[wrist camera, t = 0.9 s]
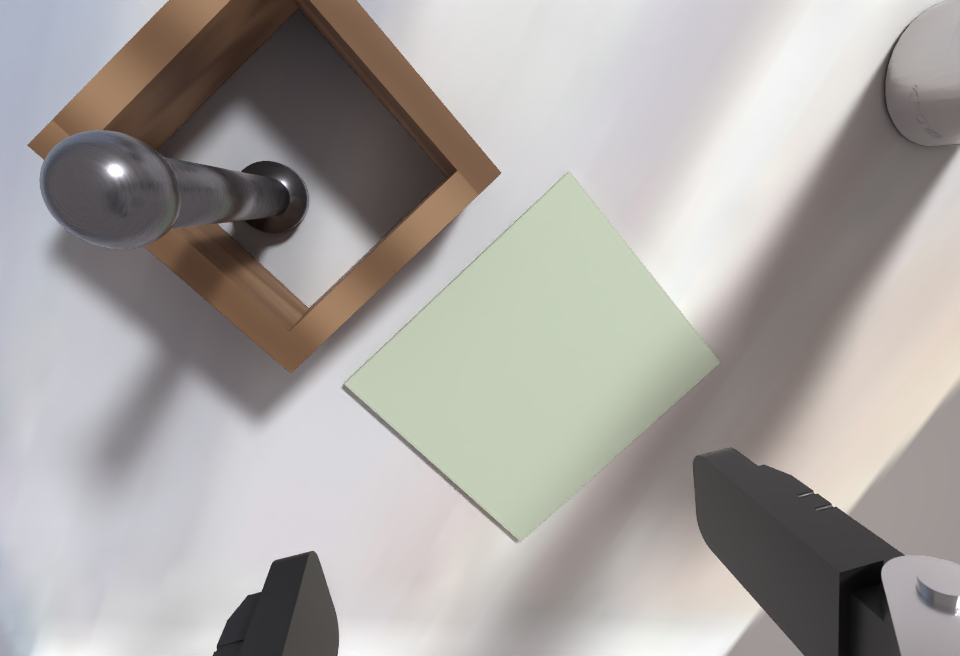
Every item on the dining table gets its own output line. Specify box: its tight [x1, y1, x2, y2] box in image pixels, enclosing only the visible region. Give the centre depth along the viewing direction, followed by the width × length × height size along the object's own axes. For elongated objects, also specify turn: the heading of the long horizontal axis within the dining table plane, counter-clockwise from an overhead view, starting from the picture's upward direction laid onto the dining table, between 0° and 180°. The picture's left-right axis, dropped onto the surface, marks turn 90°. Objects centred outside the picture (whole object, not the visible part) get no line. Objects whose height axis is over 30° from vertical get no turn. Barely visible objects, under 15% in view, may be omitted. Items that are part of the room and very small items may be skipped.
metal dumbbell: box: [40, 130, 309, 249], centre depth 21 cm, size 4×4×19 cm
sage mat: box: [344, 172, 721, 542], centre depth 35 cm, size 20×18×1 cm
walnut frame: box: [28, 0, 501, 373], centre depth 27 cm, size 15×15×6 cm
